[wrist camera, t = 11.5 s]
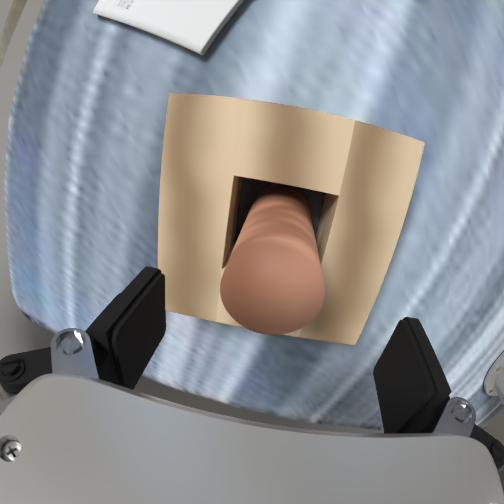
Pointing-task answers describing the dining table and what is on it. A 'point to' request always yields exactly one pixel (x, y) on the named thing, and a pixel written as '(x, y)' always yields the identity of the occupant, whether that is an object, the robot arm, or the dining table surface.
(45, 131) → the dining table surface
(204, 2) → the external hard drive
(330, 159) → the socket block
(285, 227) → the peg
